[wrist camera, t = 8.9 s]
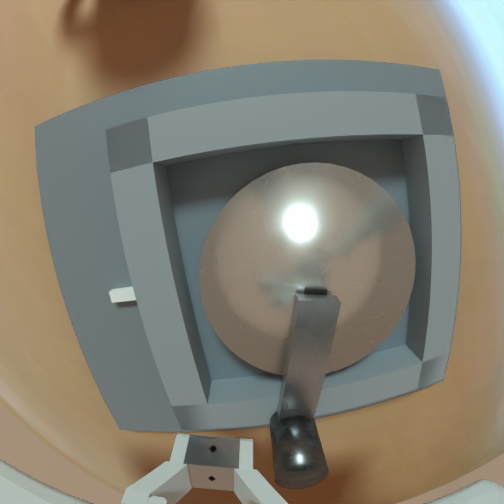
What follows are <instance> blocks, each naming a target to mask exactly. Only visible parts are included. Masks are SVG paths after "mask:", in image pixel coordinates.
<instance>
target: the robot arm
mask: <svg viewBox="0 0 504 504" xmlns="http://www.w3.org/2000/svg"><path fill="white" fill-rule="evenodd" d="M239 446H240V447H239ZM192 487H194V488H205V489H216V490H227V491H234V493H235V494H236V496H237V497H238V499H239V500H240V501H241V503H242V504H288V503H287V502H286V501H285V500H284V499H283V498H282V497H281V496H280V494H279V493H278V492H277V491H276V490H275V489H274V488H273V487H272V486H271V485H270V484H269V483H268V481H267V480H266V479H265V478H264V477H263V476H262V475H261V473H260V472H259V471H258V470H256V469H253V439H240V438H223V437H207V436H199V435H192V434H184V433H178V434H177V436H176V439H175V443H174V446H173V450H172V454H171V457H170V461H169V462H168V461H165V462H164V463H163V464H161V465H160V466H158V467H157V468H156V469H154V470H153V471H151V472H150V473H148V474H147V475H146V476H144V477H143V478H141V479H140V480H138V481H137V482H135V483H134V484H132V485H131V486H129V487H128V488H126V491H125V494H124V496H123V499H122V502H121V504H176V503H177V502H178V501H179V500H180V499H181V498H182V497H183V496H184V495H186V494H187V493H188V492H189V491H190V490H191V489H192ZM0 504H93V503H90V502H88V501H85V500H82V499H80V498H77V497H75V496H72V495H70V494H67V493H65V492H62V491H60V490H58V489H56V488H54V487H51V486H49V485H47V484H45V483H43V482H41V481H39V480H37V479H35V478H33V477H31V476H29V475H28V474H26V473H24V472H22V471H20V470H18V469H17V468H15V467H13V466H11V465H10V464H8V463H6V462H5V461H3V460H2V459H0ZM425 504H504V486H502V485H500V484H497V483H494V482H492V481H489V480H485V479H482V480H479V481H476V482H474V483H472V484H470V485H468V486H466V487H463V488H461V489H459V490H457V491H455V492H453V493H450V494H448V495H445V496H443V497H440V498H438V499H435V500H433V501H430V502H427V503H425Z"/></svg>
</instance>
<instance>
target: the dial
mask: <svg viewBox="0 0 504 504" xmlns="http://www.w3.org/2000/svg"><path fill="white" fill-rule="evenodd" d="M415 265H416V258H415V247H414V242H413V238H412V233H411V231H410V228H409V225H408V223H407V220H406V218H405V216H404V215H403V213H402V211H401V209H400V208H399V206H398V205H397V203H396V202H395V201H394V199H393V198H392V197H391V196H390V195H389V194H388V193H387V192H386V191H385V190H384V189H383V188H382V187H381V186H380V185H378V184H377V183H376V182H374V181H373V180H372V179H370V178H369V177H367V176H365V175H363V174H361V173H359V172H357V171H355V170H352V169H349V168H347V167H344V166H339V165H334V164H330V163H315V162H313V163H300V164H295V165H290V166H286V167H282V168H279V169H276V170H274V171H271V172H269V173H266V174H265V175H263V176H261V177H259V178H257V179H255V180H254V181H252V182H251V183H249V184H248V185H246V186H245V187H244V188H242V189H241V190H240V191H239V192H238V193H237V194H236V195H235V196H234V197H233V198H232V199H231V200H230V201H229V202H228V203H227V204H226V205H225V207H224V208H223V209H222V211H221V212H220V213H219V214H218V216H217V218H216V219H215V221H214V223H213V225H212V226H211V228H210V230H209V233H208V235H207V238H206V240H205V243H204V246H203V250H202V254H201V258H200V267H199V289H200V295H201V300H202V304H203V307H204V310H205V313H206V316H207V318H208V320H209V322H210V324H211V326H212V328H213V330H214V331H215V333H216V334H217V335H218V337H219V338H220V340H221V341H222V342H223V343H224V344H225V345H226V346H227V347H228V348H229V349H230V350H231V351H232V352H233V353H234V354H236V355H237V356H238V357H239V358H241V359H242V360H244V361H246V362H247V363H249V364H250V365H253V366H255V367H257V368H259V369H261V370H264V371H267V372H270V373H274V374H278V375H283V380H282V386H281V392H280V397H279V403H278V408H277V411H276V412H275V413H274V414H273V415H272V416H271V418H270V432H271V442H272V452H273V462H274V472H275V481H276V483H277V484H278V485H279V486H281V487H284V488H288V489H301V488H306V487H310V486H313V485H315V484H317V483H319V482H321V481H322V480H323V479H325V478H326V476H327V475H328V467H327V463H326V460H325V456H324V452H323V449H322V445H321V441H320V438H319V434H318V431H317V427H316V423H315V420H314V416H315V412H316V409H317V405H318V401H319V398H320V394H321V390H322V386H323V382H324V379H325V375H326V374H327V373H330V372H334V371H337V370H340V369H342V368H345V367H347V366H349V365H351V364H353V363H355V362H357V361H359V360H360V359H362V358H363V357H365V356H366V355H368V354H369V353H370V352H372V351H373V350H374V349H375V348H376V347H378V346H379V345H380V344H381V343H382V342H383V341H384V340H385V339H386V337H387V336H388V335H389V334H390V333H391V332H392V330H393V329H394V327H395V326H396V325H397V323H398V322H399V320H400V318H401V316H402V315H403V313H404V311H405V309H406V306H407V304H408V301H409V299H410V295H411V292H412V288H413V284H414V278H415Z"/></svg>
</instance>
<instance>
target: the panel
mask: <svg viewBox="0 0 504 504" xmlns="http://www.w3.org/2000/svg"><path fill="white" fill-rule="evenodd" d="M35 145H36V160H37V171H38V180H39V189H40V196H41V203H42V209H43V215H44V221H45V227H46V232H47V237H48V241H49V246H50V251H51V255H52V259H53V263H54V267H55V271H56V275H57V278H58V282H59V285H60V289H61V292H62V296H63V299H64V302H65V305H66V308H67V311H68V314H69V317H70V320H71V323H72V326H73V329H74V331H75V334H76V337H77V339H78V342H79V345H80V347H81V350H82V352H83V355H84V357H85V359H86V362H87V364H88V366H89V369H90V371H91V373H92V375H93V378H94V380H95V382H96V384H97V386H98V388H99V390H100V393H101V395H102V397H103V399H104V401H105V403H106V405H107V407H108V408H109V410H110V412H111V414H112V416H113V418H114V420H115V421H116V423H117V425H118V427H119V429H120V430H132V431H151V432H202V431H222V430H236V429H247V428H256V427H265V426H270V418H271V416H272V415H273V414H274V413H275V412H276V411H277V408H278V403H279V397H280V392H281V386H282V380H283V375H278V374H274V373H270V372H267V371H264V370H261V369H259V368H257V367H255V366H253V365H250V364H249V363H247V362H246V361H244V360H242V359H241V358H239V357H238V356H237V355H236V354H234V353H233V352H232V351H231V350H230V349H229V348H228V347H227V346H226V345H225V344H224V343H223V342H222V341H221V340H220V338H219V337H218V335H217V334H216V333H215V331H214V330H213V328H212V326H211V324H210V322H209V320H208V318H207V316H206V313H205V310H204V307H203V304H202V300H201V295H200V289H199V267H200V258H201V254H202V250H203V246H204V243H205V240H206V238H207V235H208V233H209V230H210V228H211V226H212V225H213V223H214V221H215V219H216V218H217V216H218V214H219V213H220V212H221V211H222V209H223V208H224V207H225V205H226V204H227V203H228V202H229V201H230V200H231V199H232V198H233V197H234V196H235V195H236V194H237V193H238V192H239V191H240V190H241V189H242V188H244V187H245V186H246V185H248V184H249V183H251V182H252V181H254V180H255V179H257V178H259V177H261V176H263V175H265V174H266V173H269V172H271V171H274V170H276V169H279V168H282V167H286V166H290V165H295V164H300V163H313V162H315V163H330V164H334V165H339V166H344V167H347V168H349V169H352V170H355V171H357V172H359V173H361V174H363V175H365V176H367V177H369V178H370V179H372V180H373V181H374V182H376V183H377V184H378V185H380V186H381V187H382V188H383V189H384V190H385V191H386V192H387V193H388V194H389V195H390V196H391V197H392V198H393V199H394V201H395V202H396V203H397V205H398V206H399V208H400V209H401V211H402V213H403V215H404V216H405V218H406V220H407V223H408V225H409V228H410V231H411V233H412V238H413V242H414V247H415V258H416V265H415V278H414V284H413V288H412V292H411V295H410V299H409V301H408V304H407V306H406V309H405V311H404V313H403V315H402V316H401V318H400V320H399V322H398V323H397V325H396V326H395V327H394V329H393V330H392V332H391V333H390V334H389V335H388V336H387V337H386V339H385V340H384V341H383V342H382V343H381V344H380V345H379V346H378V347H376V348H375V349H374V350H373V351H372V352H370V353H369V354H368V355H366V356H365V357H363V358H362V359H360V360H359V361H357V362H355V363H353V364H351V365H349V366H347V367H345V368H342V369H340V370H337V371H334V372H330V373H327V374H326V375H325V379H324V382H323V386H322V390H321V394H320V398H319V401H318V405H317V409H316V412H315V416H314V419H315V418H320V417H325V416H330V415H334V414H339V413H343V412H347V411H351V410H355V409H359V408H363V407H366V406H370V405H373V404H377V403H380V402H384V401H387V400H390V399H393V398H397V397H400V396H403V395H406V394H409V393H411V392H414V391H417V390H420V389H423V388H425V387H428V386H431V385H433V384H436V383H438V382H441V381H443V380H444V376H445V372H446V368H447V363H448V358H449V353H450V348H451V343H452V337H453V331H454V325H455V318H456V310H457V302H458V292H459V281H460V265H461V199H460V184H459V173H458V163H457V155H456V147H455V140H454V134H453V128H452V123H451V117H450V112H449V107H448V103H447V98H446V94H445V90H444V86H443V82H442V78H441V74H440V71H439V70H437V69H432V68H426V67H419V66H412V65H404V64H396V63H386V62H373V61H356V60H299V61H281V62H268V63H258V64H249V65H241V66H233V67H226V68H220V69H214V70H208V71H203V72H197V73H192V74H187V75H183V76H178V77H174V78H170V79H165V80H161V81H157V82H154V83H150V84H146V85H143V86H139V87H136V88H132V89H129V90H126V91H123V92H119V93H116V94H113V95H110V96H107V97H105V98H102V99H99V100H96V101H93V102H91V103H88V104H85V105H83V106H80V107H78V108H75V109H73V110H70V111H68V112H66V113H63V114H61V115H59V116H56V117H54V118H52V119H50V120H48V121H45V122H43V123H41V124H39V125H37V126H35Z"/></svg>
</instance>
